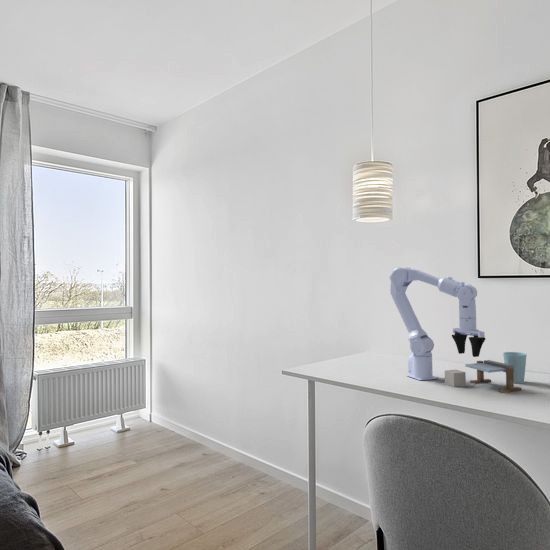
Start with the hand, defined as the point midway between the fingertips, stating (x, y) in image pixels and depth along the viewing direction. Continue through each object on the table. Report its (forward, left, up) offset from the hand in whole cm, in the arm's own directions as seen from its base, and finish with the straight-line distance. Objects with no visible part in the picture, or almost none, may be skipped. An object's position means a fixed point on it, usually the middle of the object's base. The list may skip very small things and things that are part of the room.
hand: (468, 355), depth 166 cm
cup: (+4, +17, -11) cm, 20 cm away
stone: (0, -6, -10) cm, 12 cm away
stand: (+7, +5, -10) cm, 13 cm away
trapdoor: (+7, +3, -5) cm, 9 cm away
